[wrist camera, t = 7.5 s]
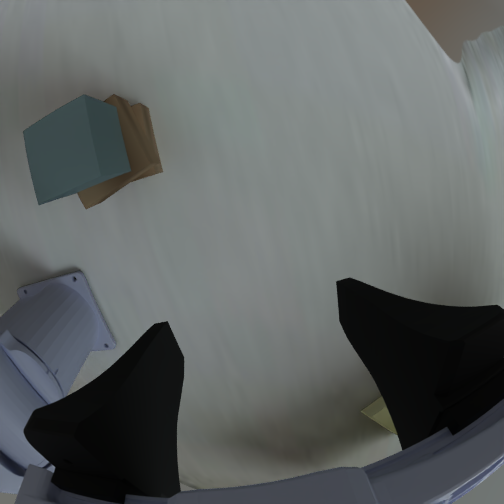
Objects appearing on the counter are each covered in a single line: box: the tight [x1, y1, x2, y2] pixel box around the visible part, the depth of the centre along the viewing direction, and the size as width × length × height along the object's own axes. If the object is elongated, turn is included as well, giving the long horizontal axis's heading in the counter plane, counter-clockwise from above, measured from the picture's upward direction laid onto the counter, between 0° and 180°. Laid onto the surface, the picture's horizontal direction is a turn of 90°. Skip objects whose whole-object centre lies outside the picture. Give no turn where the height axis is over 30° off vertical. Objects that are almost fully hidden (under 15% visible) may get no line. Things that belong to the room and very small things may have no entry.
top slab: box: [77, 94, 161, 209], centre depth 15 cm, size 5×5×2 cm
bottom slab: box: [131, 103, 163, 182], centre depth 17 cm, size 5×5×2 cm
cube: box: [23, 95, 131, 205], centre depth 12 cm, size 4×4×4 cm
